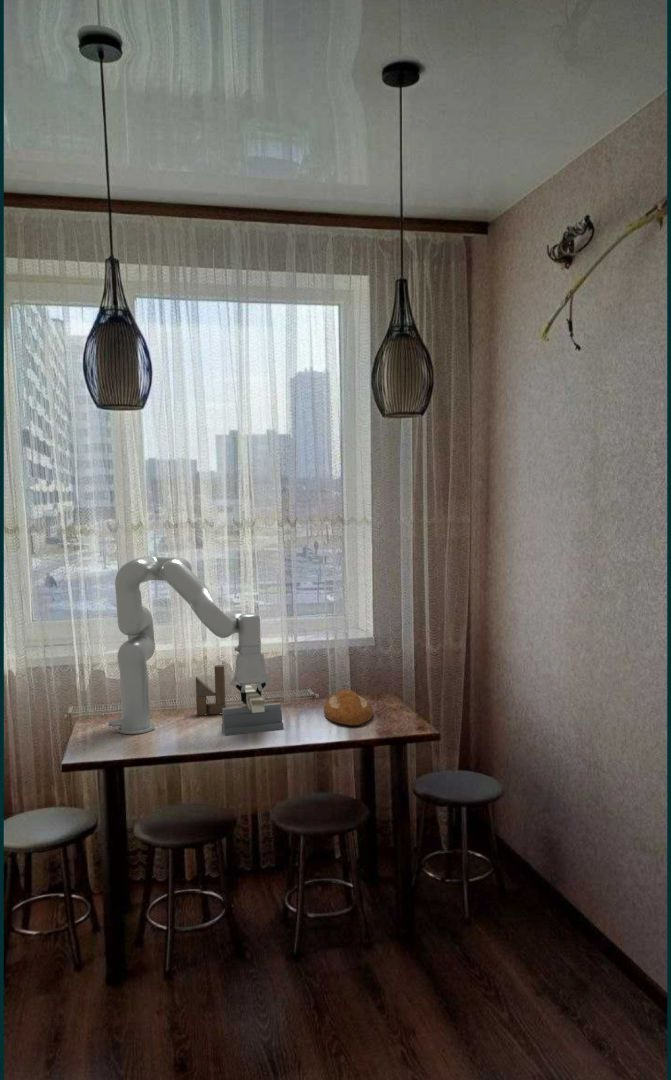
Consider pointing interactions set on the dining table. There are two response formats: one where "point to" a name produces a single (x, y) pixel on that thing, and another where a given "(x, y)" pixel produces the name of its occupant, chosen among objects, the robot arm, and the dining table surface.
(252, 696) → the birch bar
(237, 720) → the ridge block
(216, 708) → the wooden block
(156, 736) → the dining table surface
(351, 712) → the bread
